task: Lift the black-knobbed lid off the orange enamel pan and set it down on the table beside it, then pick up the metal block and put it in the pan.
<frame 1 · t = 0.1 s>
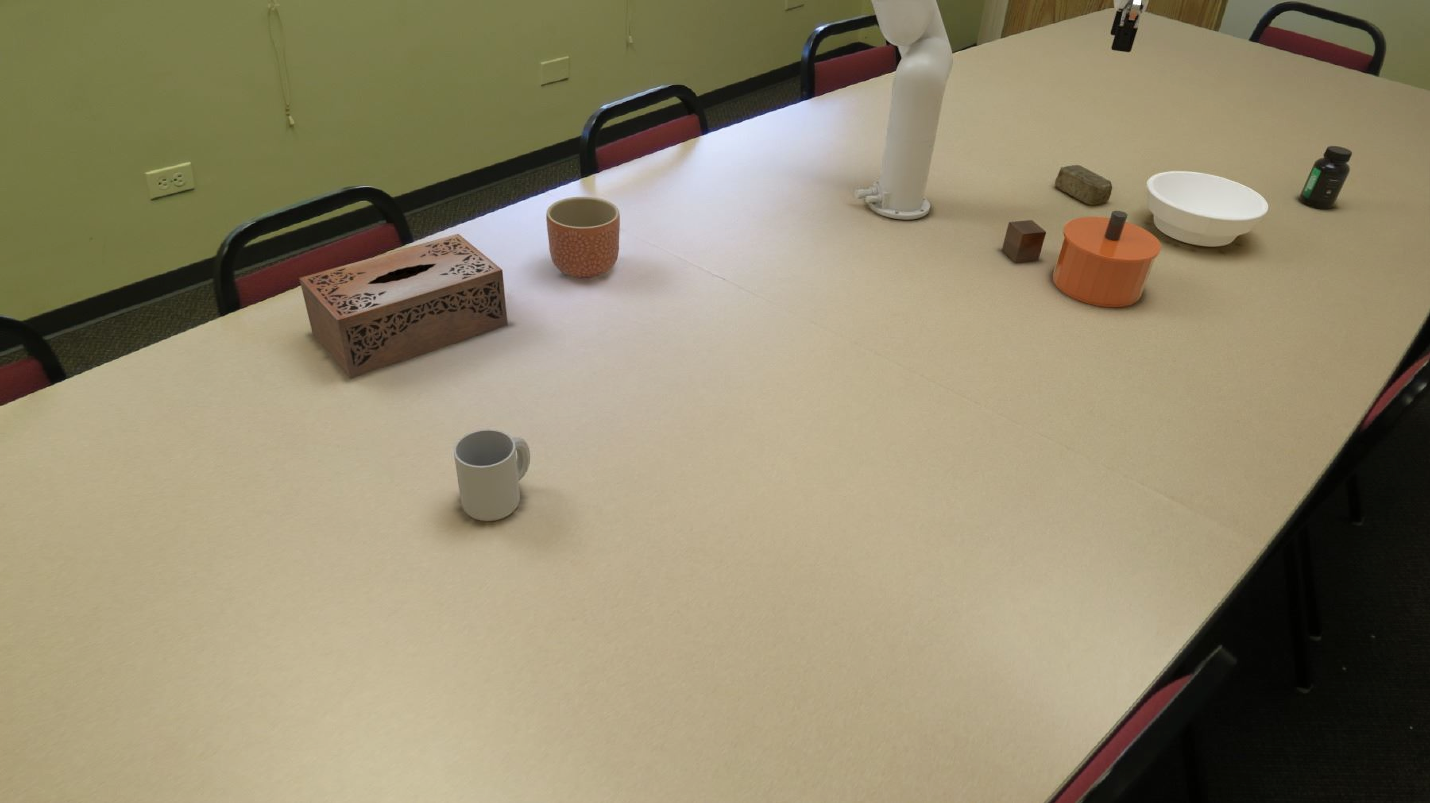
hand: (1119, 43, 166), 37 cm above the table, tool pointing down, fingers open, 9 cm apart
bowl: (1191, 233, 193), on the table
pan lid: (1110, 240, 168), point 9 cm above the table, touching pan
pan: (1096, 285, 173), on the table
cup: (500, 498, 121), on the table
stone block: (1079, 196, 205), on the table
metal block: (1019, 255, 181), on the table
planter: (585, 269, 169), on the table
tissue box cover: (411, 330, 150), on the table
supplement bottle: (1315, 203, 208), on the table
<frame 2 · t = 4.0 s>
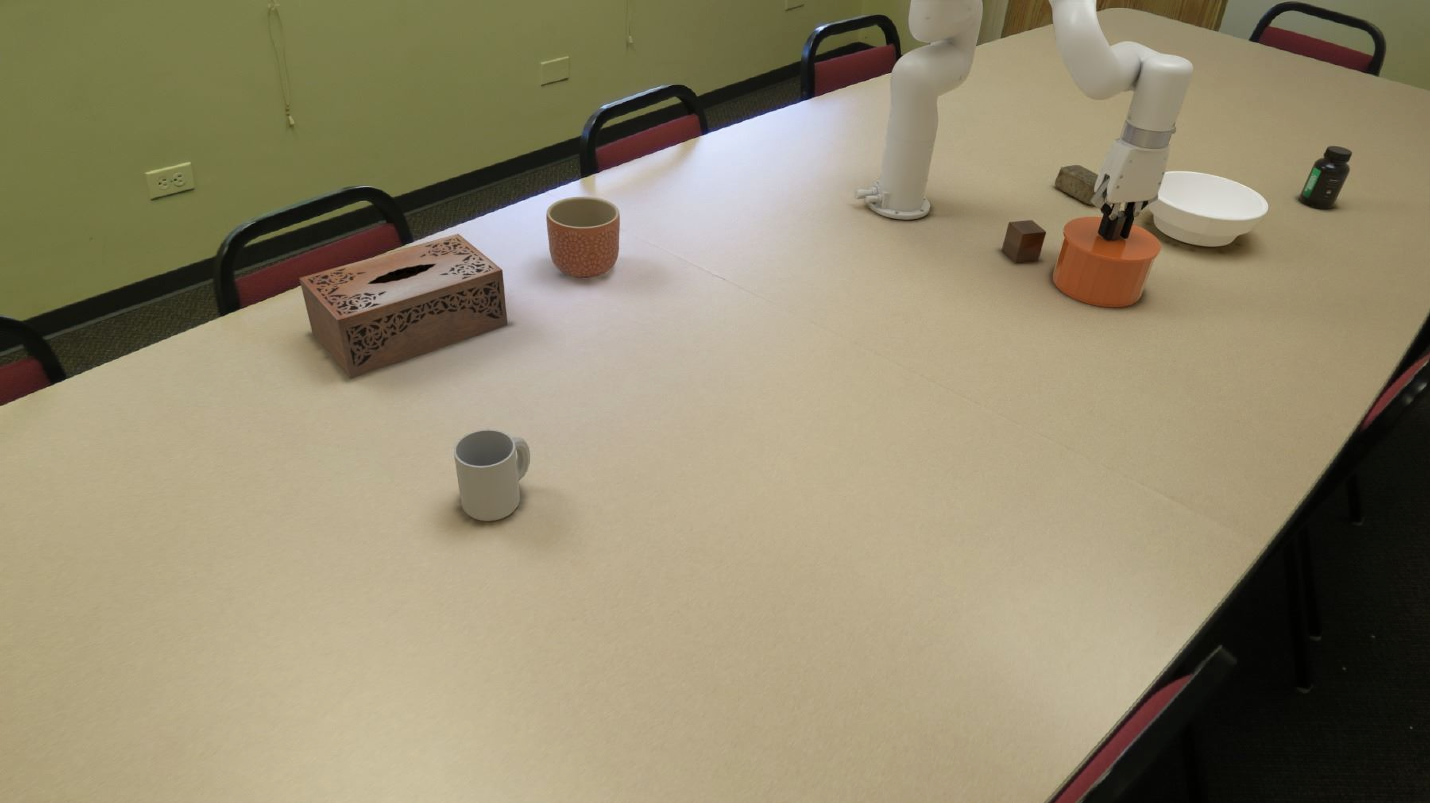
hand: (1112, 235, 167), 10 cm above the table, tool pointing down, fingers closed on pan lid, 2 cm apart
pan lid: (1110, 240, 168), point 9 cm above the table, touching gripper, pan
everything else where it was.
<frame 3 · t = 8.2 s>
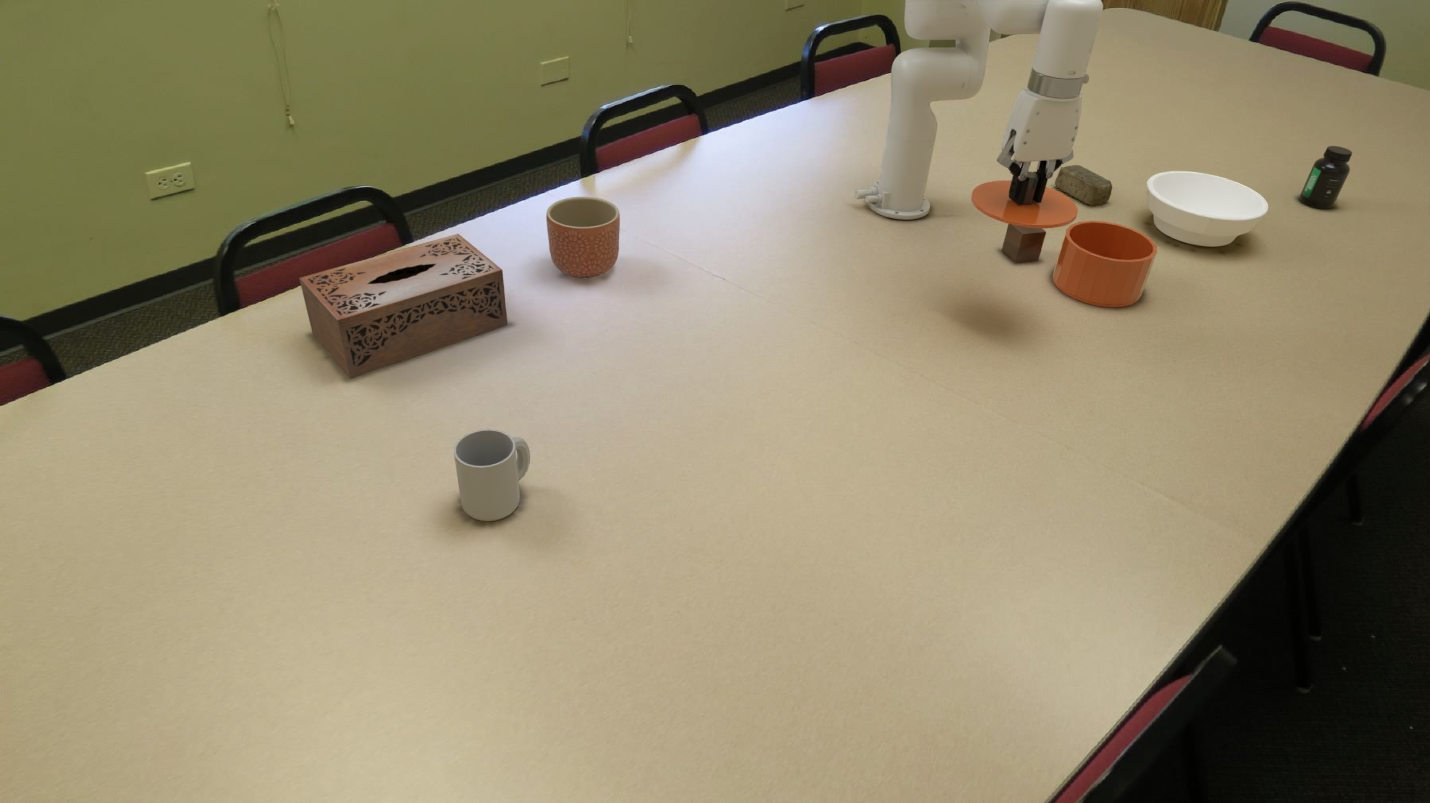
hand: (1024, 199, 151), 21 cm above the table, tool pointing down, fingers closed on pan lid, 2 cm apart
pan lid: (1023, 205, 151), point 20 cm above the table, touching gripper
everything else where it was.
when the fingers open (2 cm above the table, at t = 12.5 s): pan lid stays where it is, point 1 cm above the table.
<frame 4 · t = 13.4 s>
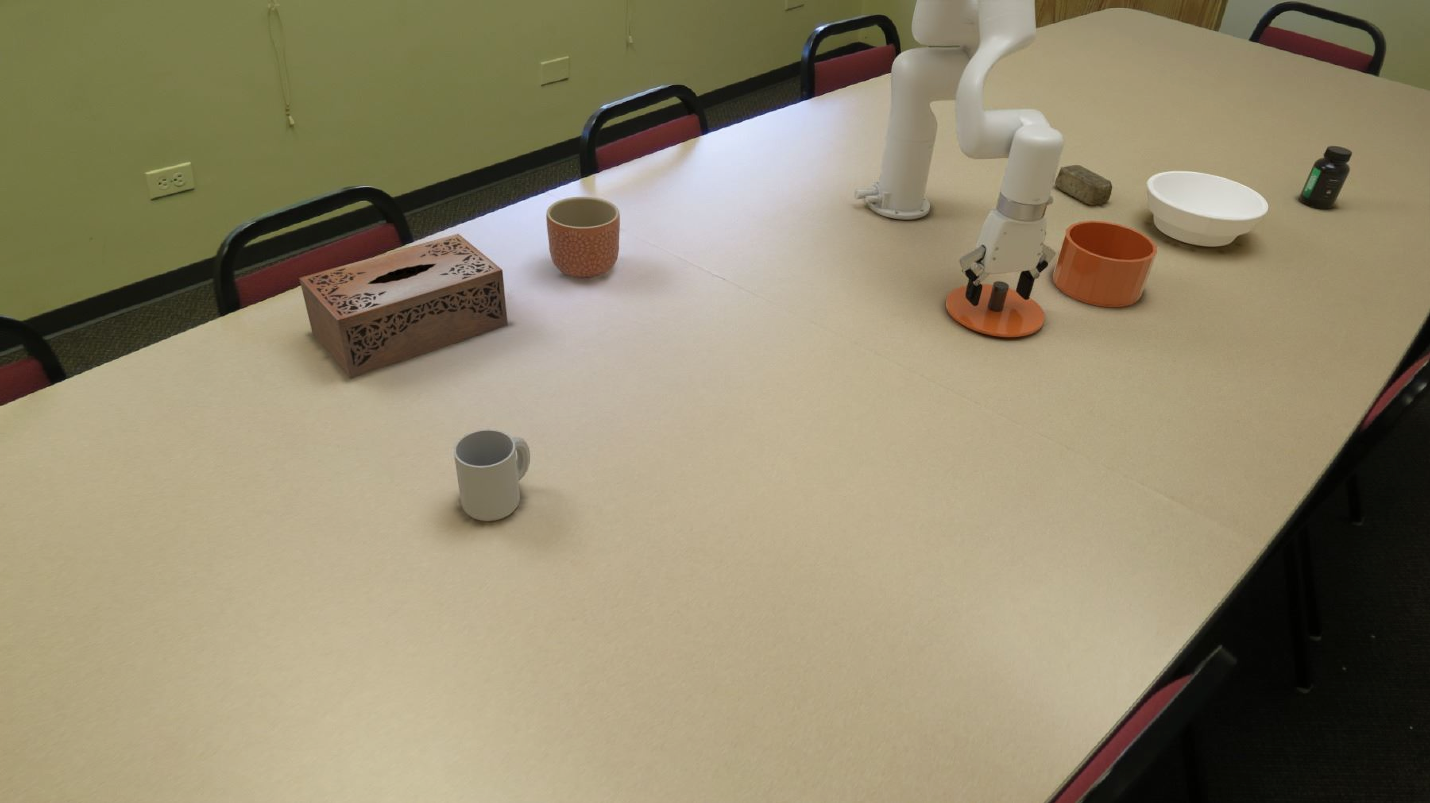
hand: (996, 298, 162), 3 cm above the table, tool pointing down, fingers open, 9 cm apart
pan lid: (994, 311, 163), point 1 cm above the table
everything else where it was.
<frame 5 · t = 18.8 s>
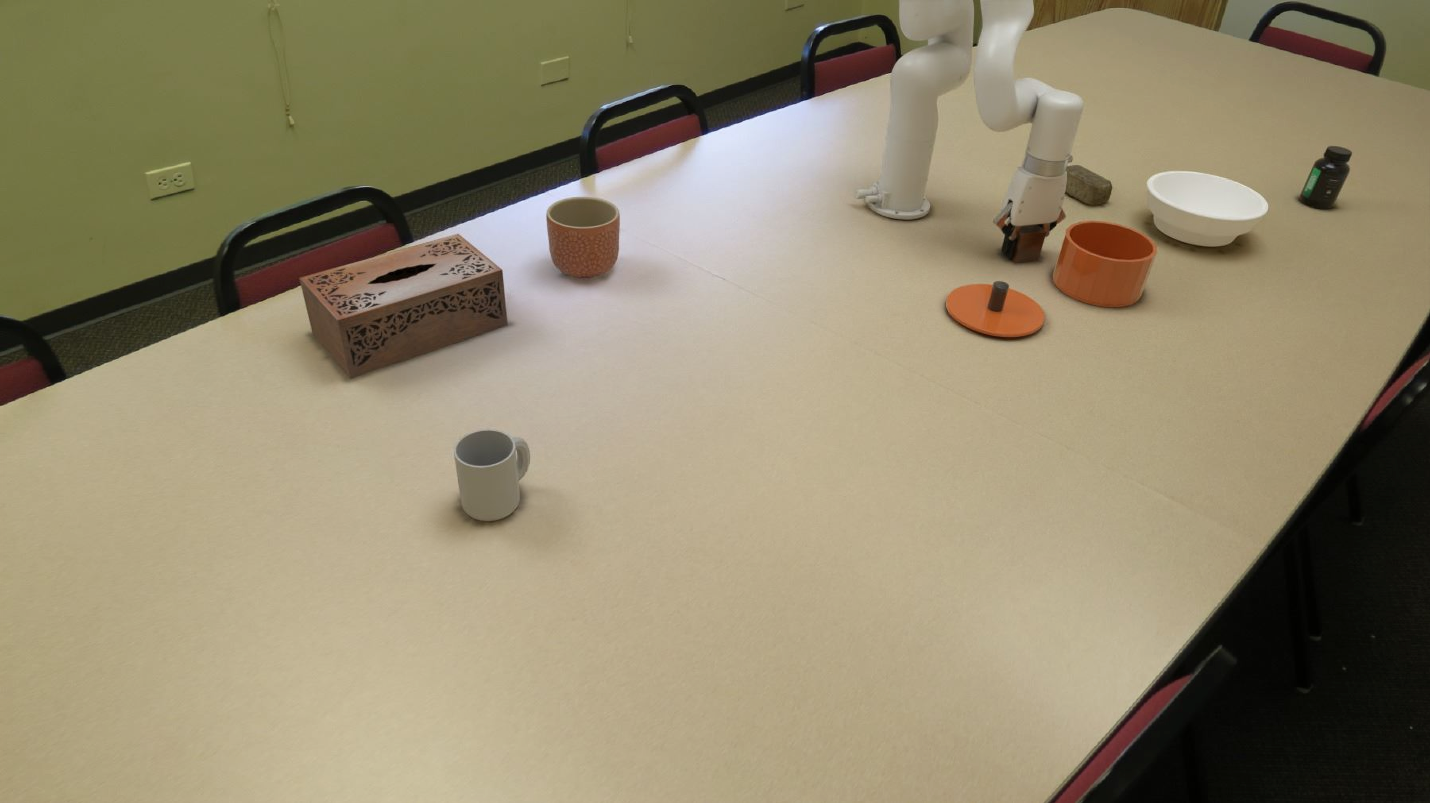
hand: (1020, 253, 181), 0 cm above the table, tool pointing down, fingers closed on metal block, 5 cm apart
metal block: (1019, 255, 181), on the table, touching gripper
everything else where it was.
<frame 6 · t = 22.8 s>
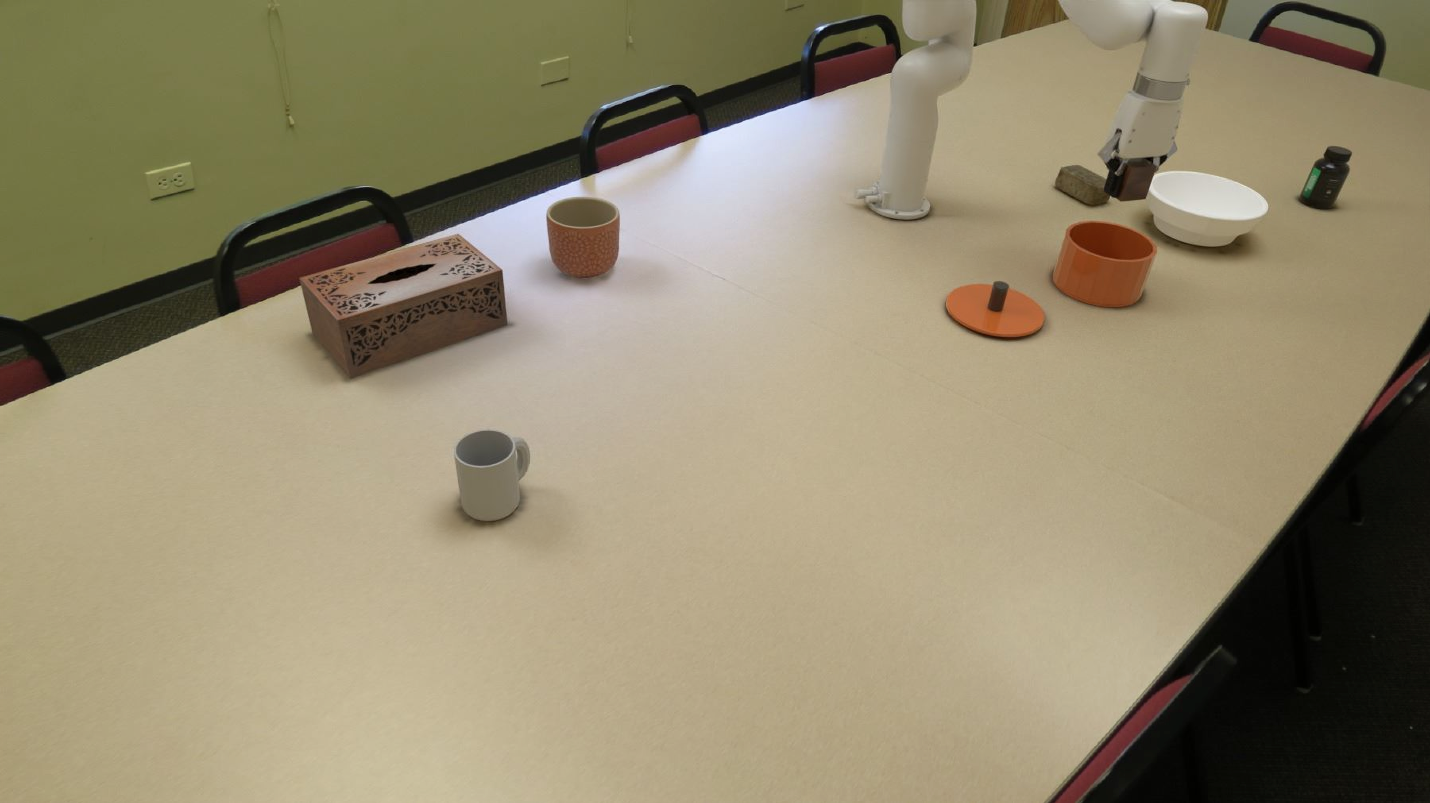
hand: (1124, 192, 163), 18 cm above the table, tool pointing down, fingers closed on metal block, 5 cm apart
metal block: (1124, 194, 163), point 18 cm above the table, touching gripper
everything else where it was.
when the fingers open (3 cm above the table, at t = 27.7 s): metal block stays where it is, resting on pan.
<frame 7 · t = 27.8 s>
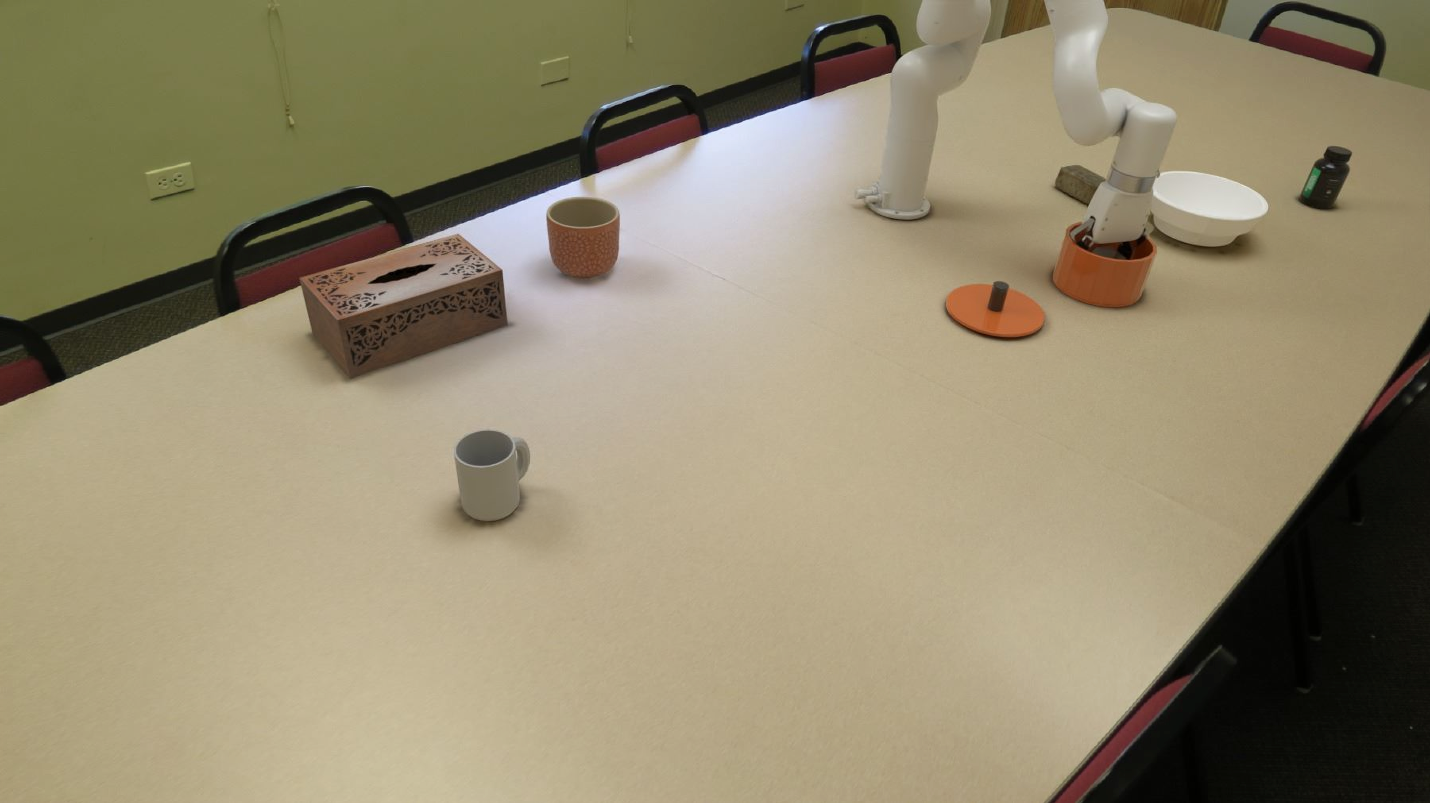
hand: (1099, 269, 172), 3 cm above the table, tool pointing down, fingers open, 7 cm apart
metal block: (1096, 282, 173), resting on pan
everything else where it was.
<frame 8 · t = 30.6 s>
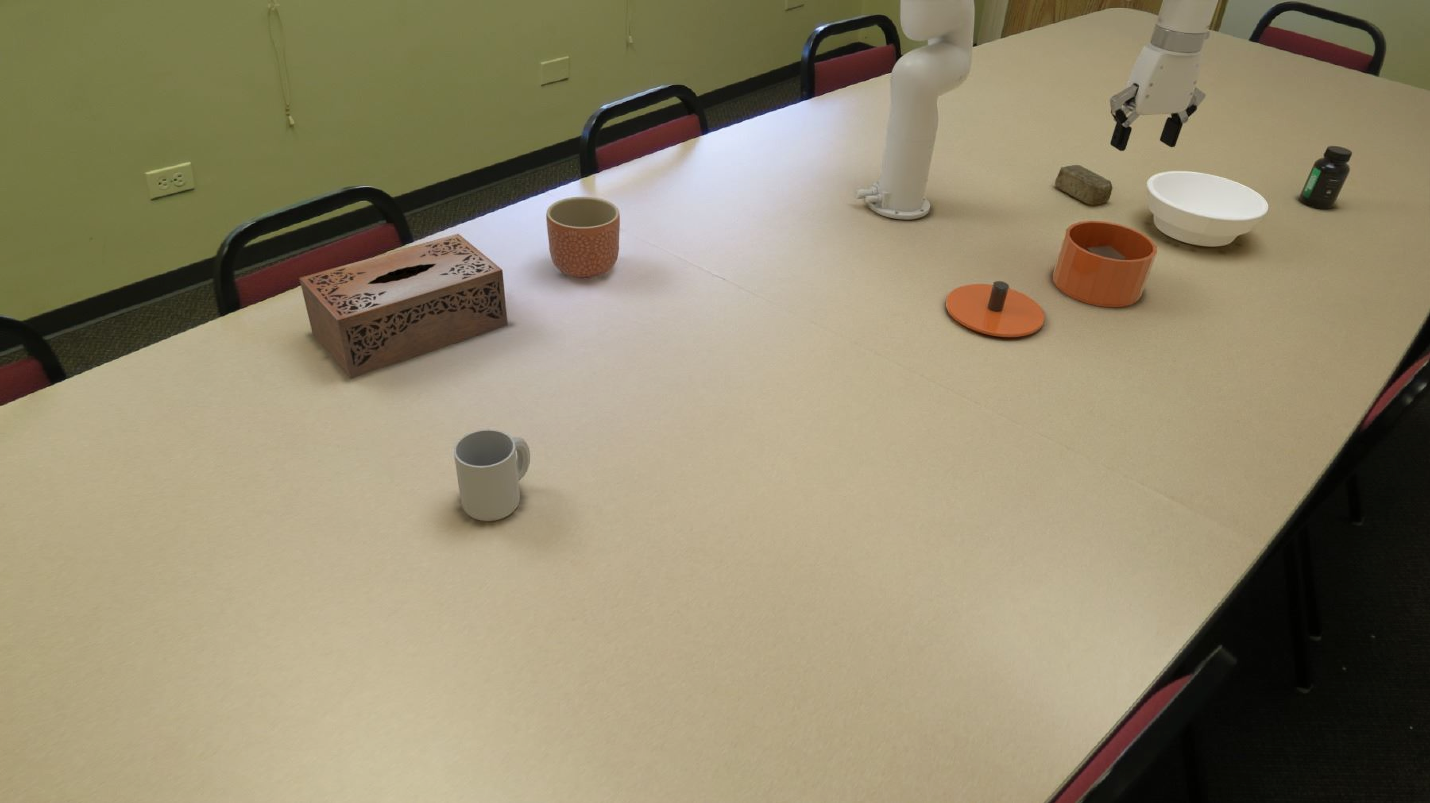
hand: (1142, 146, 157), 26 cm above the table, tool pointing down, fingers open, 9 cm apart
nothing on the table moved.
at the end: pan lid inside the target area (0.1 cm from its centre), point 0.6 cm above the table; metal block inside the target area in the pan (0.0 cm from its centre), point 0.5 cm above the pan's base; metal block tilted 0° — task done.
